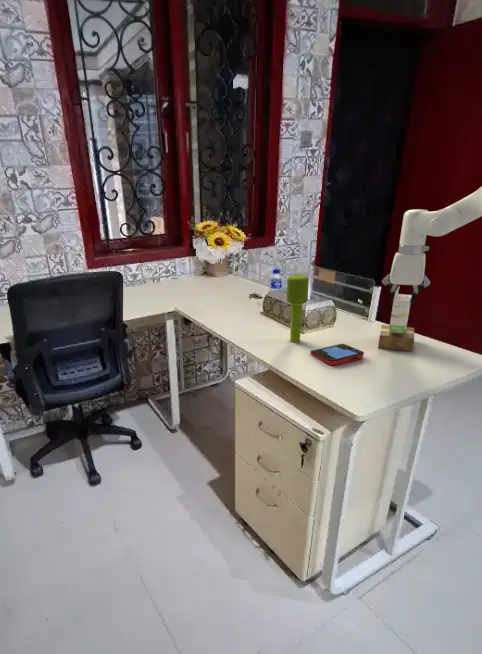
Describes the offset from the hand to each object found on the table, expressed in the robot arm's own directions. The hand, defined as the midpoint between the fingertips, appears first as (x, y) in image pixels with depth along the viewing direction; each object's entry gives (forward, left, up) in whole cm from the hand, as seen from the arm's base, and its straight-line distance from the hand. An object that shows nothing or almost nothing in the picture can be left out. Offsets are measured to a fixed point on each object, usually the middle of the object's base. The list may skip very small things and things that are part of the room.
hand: (402, 302), depth 144 cm
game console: (+18, +17, -16) cm, 29 cm away
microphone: (+35, +7, -16) cm, 39 cm away
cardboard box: (0, 0, -16) cm, 16 cm away
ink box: (0, 0, -10) cm, 10 cm away
